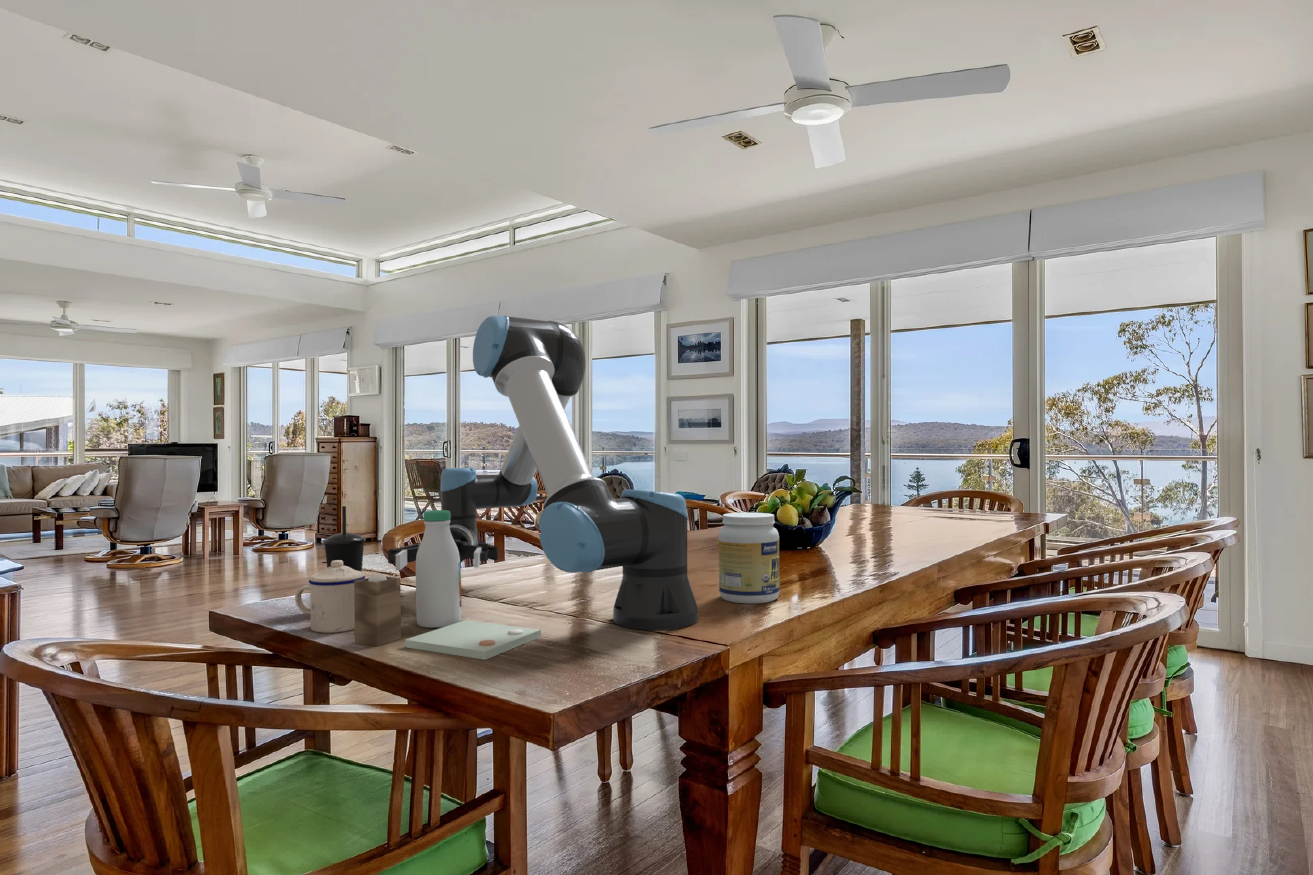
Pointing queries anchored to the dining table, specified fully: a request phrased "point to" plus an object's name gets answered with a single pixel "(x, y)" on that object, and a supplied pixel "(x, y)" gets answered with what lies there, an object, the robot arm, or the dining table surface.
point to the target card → (473, 639)
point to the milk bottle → (438, 574)
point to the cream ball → (377, 577)
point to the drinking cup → (345, 547)
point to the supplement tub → (749, 558)
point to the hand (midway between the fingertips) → (437, 561)
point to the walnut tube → (377, 611)
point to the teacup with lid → (331, 598)
